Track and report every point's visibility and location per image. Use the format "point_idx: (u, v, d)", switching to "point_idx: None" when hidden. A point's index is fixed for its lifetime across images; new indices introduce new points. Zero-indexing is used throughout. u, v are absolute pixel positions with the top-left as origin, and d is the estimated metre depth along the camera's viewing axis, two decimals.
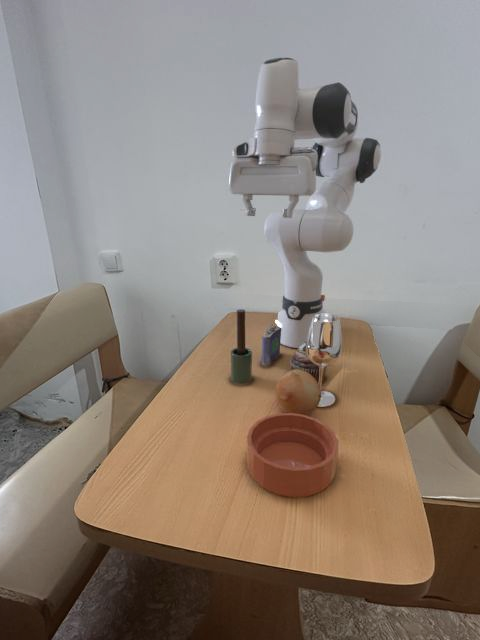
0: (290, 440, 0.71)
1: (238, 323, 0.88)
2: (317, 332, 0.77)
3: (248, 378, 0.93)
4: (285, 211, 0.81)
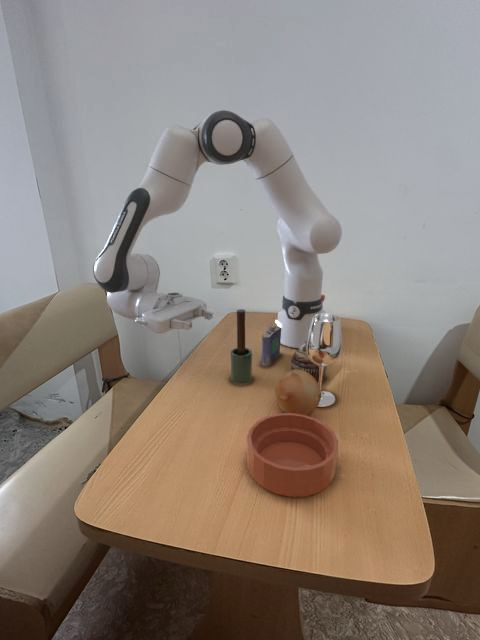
0: (290, 440, 0.71)
1: (238, 323, 0.88)
2: (317, 332, 0.77)
3: (248, 378, 0.93)
4: None
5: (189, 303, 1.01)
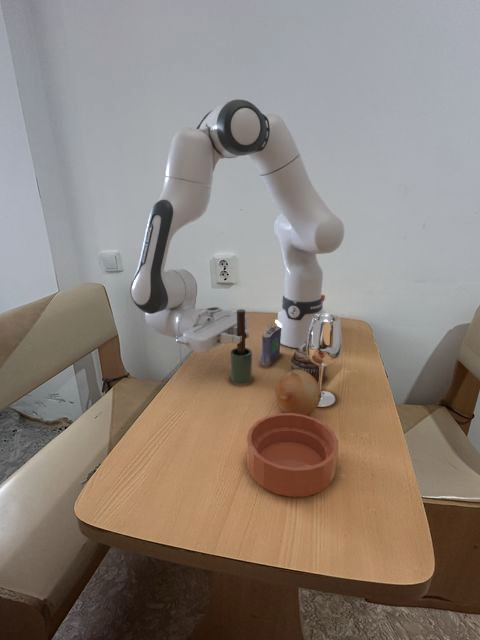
0: (290, 440, 0.71)
1: (238, 323, 0.88)
2: (317, 332, 0.77)
3: (248, 378, 0.93)
4: None
5: (229, 318, 0.97)
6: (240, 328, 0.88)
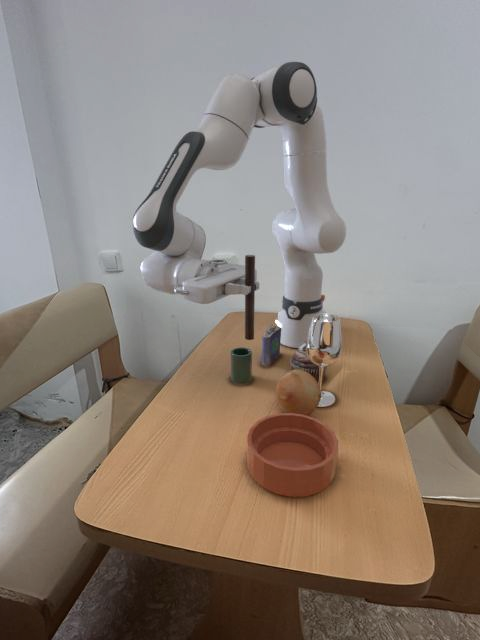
0: (290, 440, 0.71)
1: (247, 270, 0.75)
2: (317, 332, 0.77)
3: (248, 378, 0.93)
4: None
5: (236, 270, 0.84)
6: (249, 276, 0.75)
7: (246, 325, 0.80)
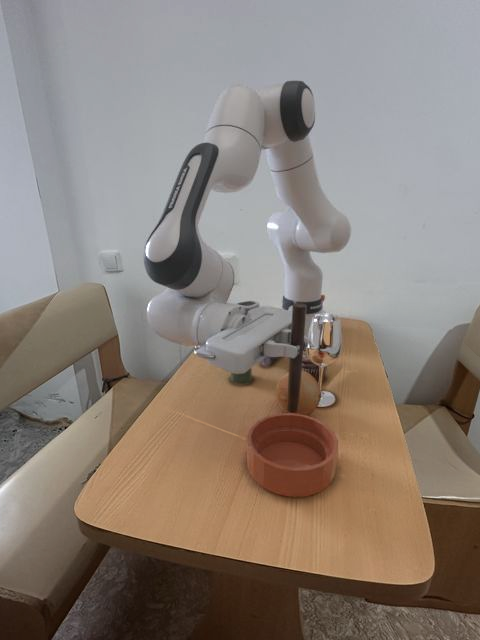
0: (290, 440, 0.71)
1: (294, 325, 0.55)
2: (317, 332, 0.77)
3: (248, 378, 0.93)
4: None
5: (274, 317, 0.64)
6: (297, 333, 0.55)
7: (290, 394, 0.60)
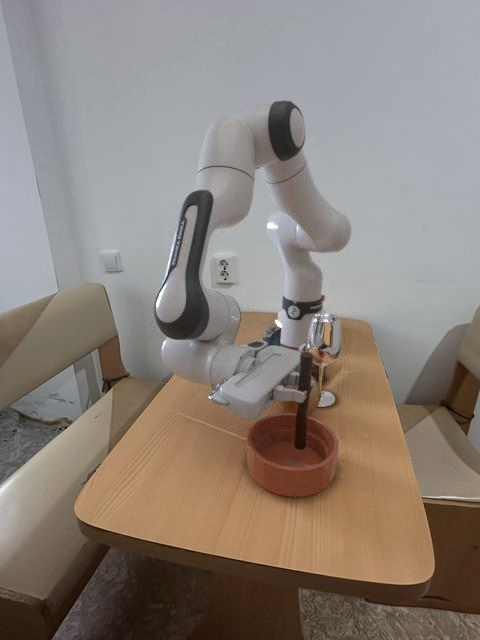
0: (290, 440, 0.71)
1: (302, 373, 0.59)
2: (317, 332, 0.77)
3: None
4: None
5: (282, 359, 0.68)
6: (305, 380, 0.59)
7: (297, 433, 0.64)
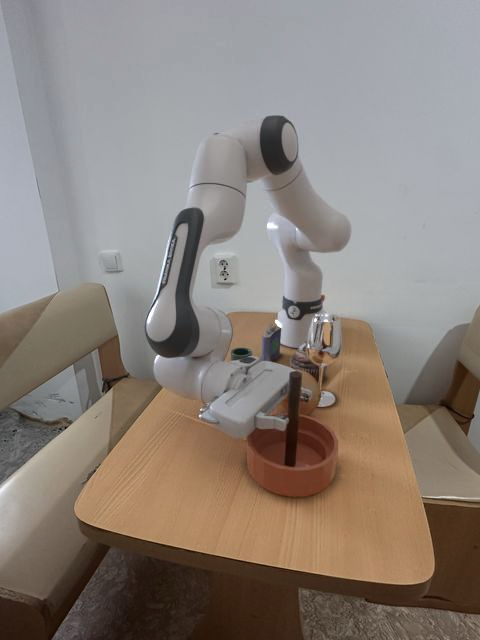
0: None
1: (291, 392, 0.59)
2: (317, 332, 0.77)
3: None
4: None
5: (273, 375, 0.68)
6: (294, 399, 0.59)
7: (287, 451, 0.64)
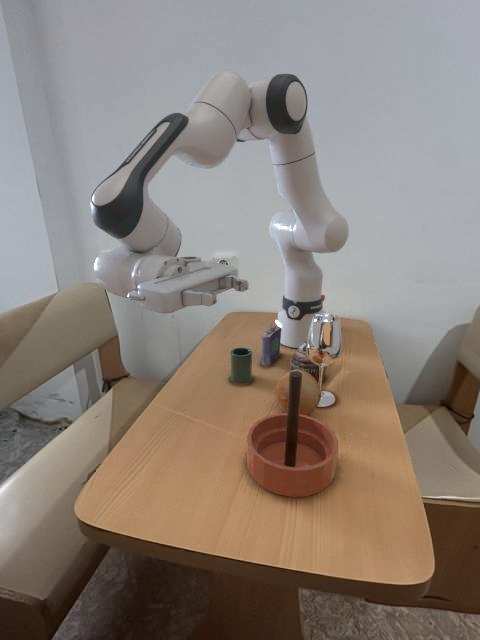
0: None
1: (291, 392, 0.59)
2: (317, 332, 0.77)
3: (248, 378, 0.93)
4: None
5: (211, 269, 0.67)
6: (294, 399, 0.59)
7: (287, 451, 0.64)
